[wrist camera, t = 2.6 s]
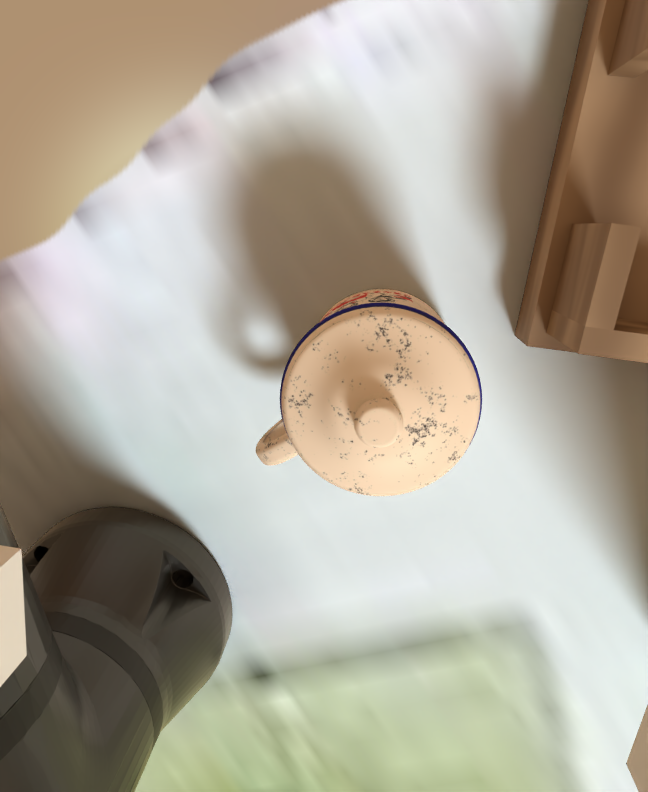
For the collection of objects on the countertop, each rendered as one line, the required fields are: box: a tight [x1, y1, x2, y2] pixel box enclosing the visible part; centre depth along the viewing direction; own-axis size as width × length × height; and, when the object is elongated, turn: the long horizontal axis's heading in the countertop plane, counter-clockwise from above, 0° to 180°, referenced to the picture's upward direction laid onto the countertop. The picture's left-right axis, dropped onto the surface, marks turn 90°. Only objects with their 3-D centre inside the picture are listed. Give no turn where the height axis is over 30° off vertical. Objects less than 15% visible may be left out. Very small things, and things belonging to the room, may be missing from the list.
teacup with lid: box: [256, 289, 482, 496], centre depth 28 cm, size 12×9×12 cm
